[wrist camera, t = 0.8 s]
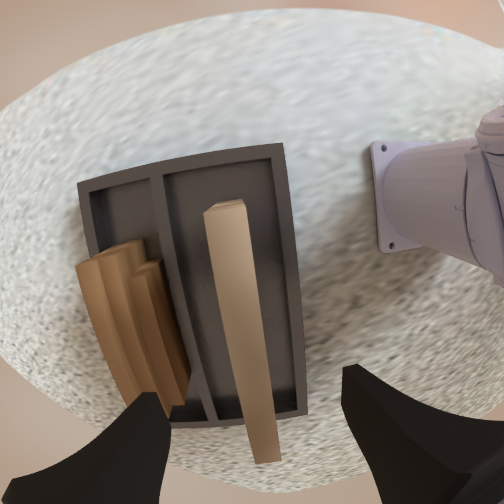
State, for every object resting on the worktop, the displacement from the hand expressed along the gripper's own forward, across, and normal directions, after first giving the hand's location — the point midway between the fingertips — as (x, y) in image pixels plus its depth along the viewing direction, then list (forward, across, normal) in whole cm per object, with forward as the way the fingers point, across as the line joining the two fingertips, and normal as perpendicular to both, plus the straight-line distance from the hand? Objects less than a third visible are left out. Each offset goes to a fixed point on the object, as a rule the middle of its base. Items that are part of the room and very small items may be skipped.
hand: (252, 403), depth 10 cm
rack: (+10, +3, 0) cm, 11 cm away
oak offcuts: (+10, +6, 0) cm, 12 cm away
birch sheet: (+10, 0, 0) cm, 10 cm away
